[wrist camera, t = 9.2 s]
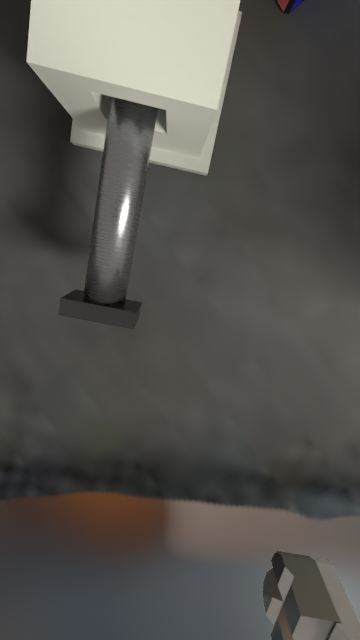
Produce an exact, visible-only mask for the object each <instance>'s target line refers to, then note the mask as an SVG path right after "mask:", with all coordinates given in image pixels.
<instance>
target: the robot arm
mask: <svg viewBox="0 0 360 640" xmlns="http://www.w3.org/2000/svg"><path fill="white" fill-rule="evenodd" d="M271 562H272V566H273V568H272V569H271V570H269V571H268V572H267V573H266V575H265V579H264V581H263V603H264V608H265V613H266V616H267V617H268V618H269V620H270V621H271V622H272V624H273V625H274V626H273V629H272V632H271V640H360V622H359V620H358V618H357V616H356V614H355V611H354V609H353V607H352V605H351V603H350V601H349V598H348V596H347V594H346V592H345V590H344V588H343V586H342V584H341V581H340V579H339V577H338V575H337V573H336V571H335V569H334V567H333V565H332V563H331V562H330V561H329V560H326V559H320V558H315V557H309V556H304V555H298V554H291V553H285V552H279V551H277V552H276V553H274V554H273V557H272V559H271Z"/></svg>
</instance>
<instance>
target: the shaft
mask: <svg viewBox="0 0 360 640" xmlns="http://www.w3.org/2000/svg"><path fill="white" fill-rule="evenodd" d="M157 112H158V108H156V107H152V106H148V105H144V104H140V103H135V102H131V101H127V100H123V99H119V98H115V97H111V98H110V105H109V113H108V120H107V127H106V135H105V142H104V150H103V157H102V164H101V172H100V179H99V186H98V194H97V201H96V208H95V216H94V223H93V230H92V238H91V245H90V252H89V260H88V267H87V274H86V282H85V289H84V291H81V290H74V291H72V292H71V293H69V294H67V295H65V296H64V297H62V298H61V300H60V308H59V315H61V316H66V317H72V318H77V319H82V320H87V321H93V322H98V323H103V324H108V325H114V326H119V327H124V328H129V329H134V328H135V326H136V323H137V320H138V318H139V314H140V308H141V303H142V302H137V301H132V300H126V295H127V289H128V283H129V277H130V271H131V265H132V259H133V253H134V247H135V241H136V236H137V230H138V224H139V218H140V212H141V206H142V200H143V194H144V188H145V183H146V177H147V171H148V165H149V159H150V153H151V147H152V141H153V135H154V129H155V124H156V118H157Z"/></svg>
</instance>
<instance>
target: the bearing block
mask: <svg viewBox="0 0 360 640" xmlns="http://www.w3.org/2000/svg"><path fill="white" fill-rule="evenodd" d="M239 4H240V0H31V9H30V22H29V35H28V48H27V61H26V62H27V63H28V64H29V66H30V67H31V68H32V69H33V70H34V72H35V73H36V74H37V75H38V77H39V78H40V79H41V80H42V81H43V83H44V84H45V85H46V86H47V88H48V89H49V90H50V91H51V92H52V94H53V95H54V96H55V97H56V98H57V100H58V101H59V102H60V103H61V105H62V106H63V107H64V108H65V109H66V111H67V112H68V113H69V114H70V115H71V117H72V118H73V120H72V129H71V138H70V142H71V143H72V144H73V145H77V146H81V147H86V148H90V149H94V150H98V151H103V150H104V142H105V135H106V127H107V120H108V113H109V105H110V98H111V97H115V98H119V99H123V100H127V101H131V102H135V103H140V104H144V105H148V106H152V107H156V108H158V112H157V118H156V124H155V129H154V135H153V141H152V147H151V153H150V159H149V162H150V163H154V164H158V165H163V166H167V167H171V168H175V169H180V170H184V171H188V172H193V173H197V174H201V175H205V176H207V174H208V170H209V165H210V161H211V156H212V151H213V147H214V142H215V137H216V133H217V128H218V123H219V119H220V114H221V109H222V104H223V100H224V95H225V90H226V86H227V81H228V76H229V72H230V67H231V62H232V58H233V53H234V48H235V44H236V39H237V34H238V29H239V25H240V20H241V15H242V12H241V11H238V9H239Z"/></svg>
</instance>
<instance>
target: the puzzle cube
mask: <svg viewBox="0 0 360 640" xmlns="http://www.w3.org/2000/svg"><path fill="white" fill-rule="evenodd" d="M302 1H304V0H277V2H278V4H279V5H280V7H281V9H282V11H283V12H284V13H290V12H291V11H292V10H293V9H294V8H296V7H297V6H298V5H299V4H300V3H301V2H302Z"/></svg>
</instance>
